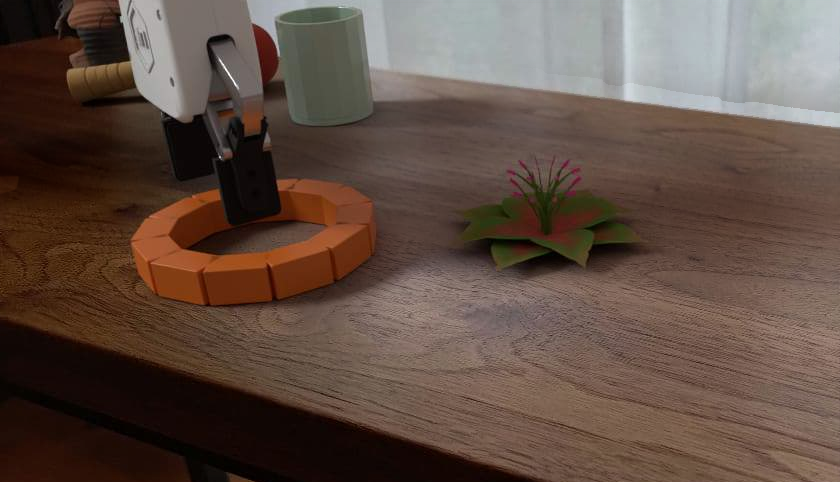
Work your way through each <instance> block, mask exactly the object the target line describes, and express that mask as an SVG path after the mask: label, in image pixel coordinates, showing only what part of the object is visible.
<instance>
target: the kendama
mask: <svg viewBox="0 0 840 482" xmlns="http://www.w3.org/2000/svg"><path fill="white" fill-rule="evenodd" d="M251 23H252V27H253V32H254V37H255V42H256V47H257V52H258V58H259V63H260V70H261V77H262V85H263V87H264V86H266V85H267V84H269V82H270V81H272V79H273V78H274V77H275V75H276V74H277V71H278V69H279V64H280V59H279V53H278V48H277V45H276V42H275V41H274V39H273V37H272V35H270V32H268V31H267V30H266V29H264V27H262V26H260V25H258V24H256V23H253V22H251ZM66 82H67V86H68V89H69V92H70V94H71V95H72V97H73V99H74V100H75V101H76V103H79V104H83V103H87V102H90V101H93V100H97V99H100V98H103V97H107V96H110V95H111V96H112V95H114V94H117V93H121V92H125V91H127V90H134V89H137V86H136V84H135V80H134V75H133V70H132V65H131V61H129V62H122V63H120V64H119V63H114V64H109V65H101V66H93V67H88V68H75V69H74V68H69V69H67V71H66Z"/></svg>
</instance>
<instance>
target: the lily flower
mask: <svg viewBox="0 0 840 482" xmlns="http://www.w3.org/2000/svg"><path fill="white" fill-rule="evenodd" d="M556 156H557V155H556V154H554V155H553V158H552V160H551V166H550V169H549V175H548V185H547V190H546V192H545V191H543V185H542V179H541V172H540V168H539V163H538V160H537V157H536V155H535V154H534V155H533V157H534V160H535V164H536V167H537V171H538V178H539V184H538V183H537V182H536V178H535V174H534V172H533V170H529V169H528V166H527V165H526V164H525V163H524V162H523V161H522V160H520V159H519V160H517V162H518V163H519V166H521V168H523V170H525V171H526V172H527V174H528V176H526V178H525V177H524V176H522V175H520V174H519V173H517V172H516V171H515V170H513V169H512V170H511V169H508V168H507V169H506V172H505V173H506V174H509V175H511V176H517V177H518V178H520V179H521V180H522V181H523V182H524V183H526V184H527V186H529V187H530V188H531V189H532V190H533V191H531V192H525V191H524V190H523V188H522V187H521V186H520V185H519V183H518V181H516V180H515V179H514V178H512V177H510V178H509V180H508V181H509V183H511V184H512V185H513V186H515V187H516V188H518V190H519V191H520V192H519V191H512V194H511V195H508V196H506V197H504V198H503V199H502V201H501V204H484V205H479V206H473V207H470V208H466V209H464V210H462V209H461V210H451V212H452V213H454V214H456V215H457V216H460V217H462V219H464V220H466V221H468V222H469V223H470V224H469V225H468V226H467V227H466V228H465V229H464V231H463V232H462V233H461V234H460V237H459V239H456V240H454V241H453V242H451V244H449V246H453V245H459V244H462V243H467V242H472V241H478V240H482V239H487V238H488V239H489V238H490V239H496V240H495V241H494V242H493V243H492V244H491V246H490V251H491V255H492V258H493V261H494V262H495V263H496V265H495V268H496V269H495V271H496V272H497V271H500V270H502V269H504V268H507V267H510V266H513V265H515V264H517V263H521V262H524V261H528V260H530V259H532V258H536V257H540V256H544V255H546V254H549V253H551V252H553V251H555V252H556V253H558V254H560V255H562V256H564V257H565V258H568V259H570V260H572V261H575V262H576V264H579V265H580V266H582V267H583V268H586V265H587V263H586V262H587V260H588V258H589V251H590V250H591V249H592V246H593V245H603V244H613V243H615V244H617V243H618V244H621V243H650V241H649V240H647V239H644V238H643V236H641V235H640V234H639V233H635V231H634V229H632V228H631V227H629V226H628V225H627V224H623V223H619V222H613V221H608V220H609V219H611V218H613V217H615V216H616V215H618V214H625V213H637V212H639V211H638V210H634V209H630V208H628V207H626V206H624V205H620V204H616V203H615V202H613V201H611V200H608V199H605V198H602V197H597V198H596V197H595V195H594V194H593V193H592V192H590V190H589V189H590V187H587V188H583V189H577V190H576V189H574V190H572V188H573V187H574V186H576V185H578V184H579V182H581V181H582V180H581V179H582V176H577V177H576V178H575V179H574V180H573V181H572V183H571V185H569V187H568V188H567V190H566V191H560V192H557V193H556V191H557V188H558V187H559V186H560V185H561V184H562V183H563V182H564V181H565V180H566V179H567V178H568V177H569V176H571V175H574V174H576V173H578V172H579V173H580V172H581V167H577V168H573V169H571V171H569V172H568V173H567V174H565V175H564V176H562V178H560V177H561V173H562V171H563V170H564V169H566V167H568V165H570V162H571V161H572V160H571V158H569V159H566V161H564V162H563V163H562V165H561V166H560V167H561V168H560V169H559V170H558V172H557V173H556V174H555V175H554V177H553V178H552V170H553V165H554V163H555V160H556ZM539 185H540V186H539ZM552 185H553V186H552Z"/></svg>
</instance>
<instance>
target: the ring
mask: <svg viewBox="0 0 840 482" xmlns="http://www.w3.org/2000/svg"><path fill="white" fill-rule="evenodd" d="M276 180H277V186H278V191H279V197H280V202H281V212H280V213H279V214H278V215H275V216H272V217H268V218H264V219H261V220H257V221H253V222H250V223H246V224H242V225H239V226H231V225H230V224H229V223H227V222H226V220H225V216H224V212H223V207H222V202H221V198H220V193H219V188H216V189H212V190H208V191H204V192H200V193H196V194H193V195H191V197H188V196H187V197H185V198H183V199H180V200H179V201H177V202H175V203H173V204H170V205H169V206H166V207H164V208H162V209H161V210H159V211H156V212H155V213H152V214H150V215H149V217H147V218H145V219H144V220H143V222H141V224H140V226H139V228H138V229H137V231H136V232H134V235H133V236H132V238H131V239H130V245H131V249H132V253H133V258H134V260H135V264H136V269H137V272H138V275H139V276H140V277H141V279H142V280H143V282H144V283H145V284H146V285H147V286H148V287H149V288H150V290H151V291H152V292H153V294H154V295H158V297H162V298H165V299H170V300H176V301H181V302H185V303H189V304H195V305H199V306H204V307H205V306H207V305H210V306H212V307H214V306H215V307H216V306H225V305H240V304H241V305H242V304H252V303H265V302H272V301H273V299H274V298H276V299H277V300H278V301H280V300H282V299H286V298H289V297H293V296H297V295H300V294H302V293H305V292H309V291H312V290H316V289H318V288H321V287H325V286H328V285H331V284H334V283H335V281H334V280H336V281H340V280H342V279H343V278H345V277H346V276H347V275H349V274H350V273H351V272H353V271H354V270H356V269H357V268H358V267H360V266H361V265H363V264H364V263H365V262H367V261H369V260H370V259H371V258H372V255H375V254H374V253H375V247H376V241H377V234H378V231H377V224H376V223H377V222H376V216H375V207H374V202H372V199H371V198H369V197H367V196H366V195H364V194H362V193H361V192H359V191H358V190H356V189H354V188H353V187H352V186H350V185H345V184H344V183H336V182H330V181H322V180H314V179H309V178H308V179H307V178H303V179H302V178H301V179H300V180H299V179H298V178H287V179H286V178H285V179H276ZM281 221H298V222H303V223H304V222H305V223H311V224H317V225H323V226H326V228H325V229H323V230H322V231H319V232H318V233H317V234H315V235H314V236H312V237H311V238H309V239H307V240H303V241H299V242H296V243H292V244H288V245H285V246H282V247H278V248H275V249H270V250H267V251H263V252H251V253H238V254H237V253H235V254H224V255H217V254H211V253H205V252H200V251H195V250H190V249H188V248H189V247H191V246H193V245H195V244H197V243H199V242H200V241H203V240H204V239H206V238H207V237H210V236H211V235H214V234H216V233H219V232H224V231H227V230H230V229H235V228H238V227H243V226H246V225H250V224H256V223H268V222H281Z"/></svg>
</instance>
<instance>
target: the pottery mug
mask: <svg viewBox="0 0 840 482" xmlns="http://www.w3.org/2000/svg"><path fill="white" fill-rule="evenodd" d="M58 9H59V10H60V15H59V17H58V19H57V20H56V22H55V26H54V29H55V30H58V38H57V39H58V40H59V41H62V40H64V39H65V38H66V37H71V38H75V39H79V41H80V42H81V43H82V48H81V49H80V50H78V51H76V52H75V53H72V54H70V55H69V62H70V64H71V66H72V69H75V68H88V67H93V66H101V65H109V64H114V63H119V64H120V63H122V62H129V61H131V60H130V56H129V50H128V45H127V40H126V35H125V30H124V25H123V21H122V20H121V17H122V15H121V10H120V5H119V0H62V1H61V2H60V3H59V4H58ZM121 21H122V22H121Z"/></svg>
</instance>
